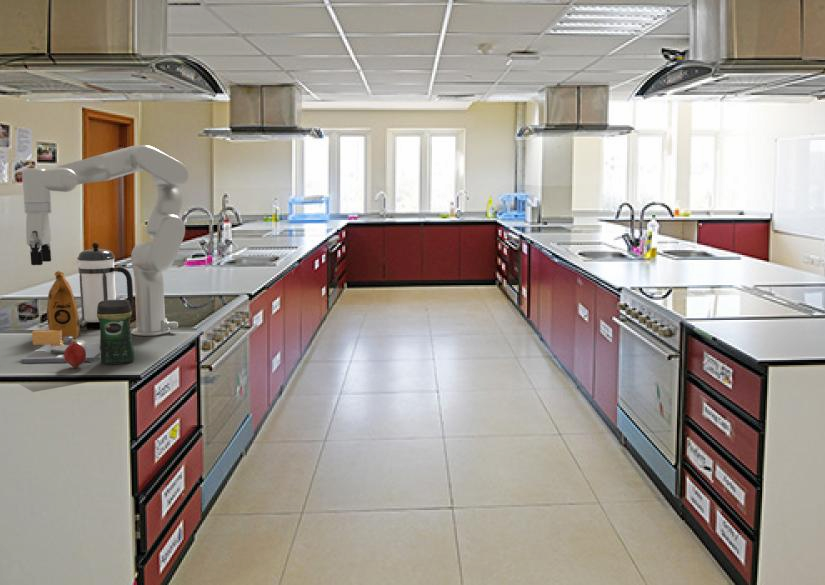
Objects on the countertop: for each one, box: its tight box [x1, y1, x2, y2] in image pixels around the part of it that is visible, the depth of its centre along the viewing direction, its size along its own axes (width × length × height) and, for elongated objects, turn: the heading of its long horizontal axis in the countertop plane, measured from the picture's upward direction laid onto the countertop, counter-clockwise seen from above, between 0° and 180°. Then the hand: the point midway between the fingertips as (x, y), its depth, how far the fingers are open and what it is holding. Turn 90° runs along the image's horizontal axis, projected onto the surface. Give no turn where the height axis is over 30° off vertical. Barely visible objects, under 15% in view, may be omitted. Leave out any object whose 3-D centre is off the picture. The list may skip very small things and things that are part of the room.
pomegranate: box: [64, 341, 86, 369], centre depth 227 cm, size 6×6×8 cm
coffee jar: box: [97, 299, 135, 365], centre depth 233 cm, size 10×8×19 cm
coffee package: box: [46, 270, 81, 339], centre depth 268 cm, size 10×12×22 cm
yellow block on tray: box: [31, 329, 87, 354], centre depth 242 cm, size 15×10×6 cm, turn 96°
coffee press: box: [74, 242, 134, 327], centre depth 291 cm, size 17×16×30 cm
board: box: [22, 342, 100, 364], centre depth 243 cm, size 20×20×2 cm
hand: (41, 263), depth 249 cm, fingers open, 9 cm apart
